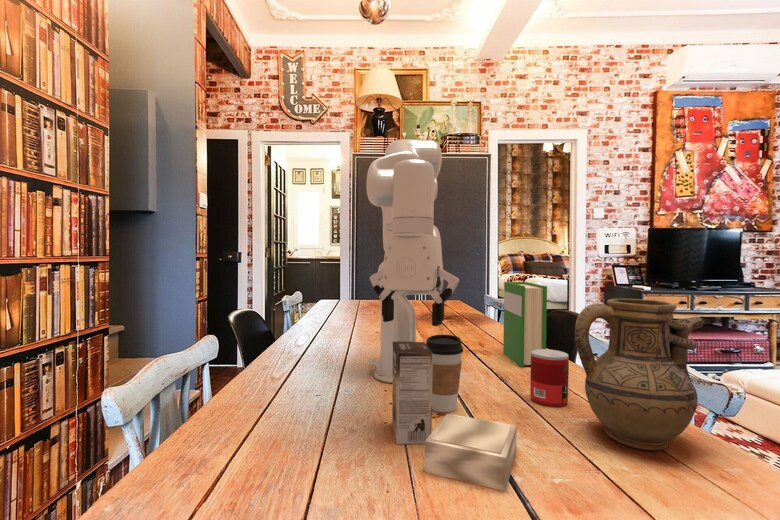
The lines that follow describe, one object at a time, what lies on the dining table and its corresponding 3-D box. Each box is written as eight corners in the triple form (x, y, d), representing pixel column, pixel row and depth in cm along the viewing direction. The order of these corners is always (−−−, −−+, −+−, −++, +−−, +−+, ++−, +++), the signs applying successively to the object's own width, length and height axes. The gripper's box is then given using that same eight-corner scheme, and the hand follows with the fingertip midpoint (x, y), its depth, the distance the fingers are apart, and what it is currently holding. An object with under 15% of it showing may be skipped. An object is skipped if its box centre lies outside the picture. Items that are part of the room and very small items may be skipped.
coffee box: (391, 423, 80) (391, 340, 80) (423, 422, 81) (424, 340, 80) (395, 445, 71) (396, 352, 71) (432, 444, 72) (433, 351, 71)
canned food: (571, 408, 89) (572, 358, 89) (532, 405, 90) (533, 355, 90) (563, 396, 96) (564, 350, 96) (528, 394, 98) (528, 348, 98)
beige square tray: (424, 473, 63) (424, 440, 62) (446, 441, 74) (446, 412, 73) (505, 493, 58) (506, 456, 58) (516, 455, 69) (516, 424, 69)
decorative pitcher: (589, 458, 67) (592, 305, 67) (559, 416, 85) (561, 294, 84) (735, 469, 64) (739, 309, 64) (673, 422, 82) (676, 297, 81)
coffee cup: (465, 403, 91) (466, 335, 91) (459, 417, 83) (460, 343, 83) (428, 398, 94) (429, 333, 94) (418, 411, 86) (419, 340, 86)
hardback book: (545, 367, 121) (547, 286, 120) (520, 367, 121) (521, 286, 120) (525, 353, 138) (526, 282, 138) (503, 353, 138) (504, 281, 138)
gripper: (361, 229, 76) (360, 322, 76) (452, 226, 68) (451, 330, 68) (380, 231, 82) (379, 317, 82) (465, 229, 75) (464, 324, 75)
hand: (412, 323), depth 75 cm, fingers open, 9 cm apart
